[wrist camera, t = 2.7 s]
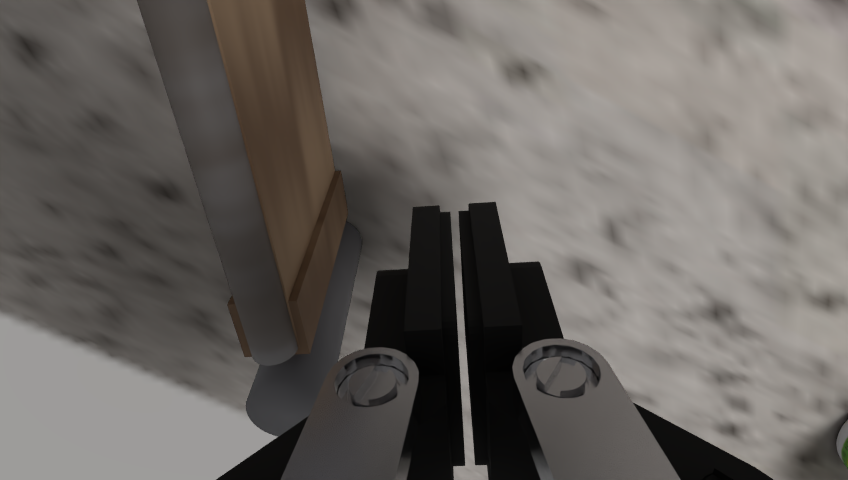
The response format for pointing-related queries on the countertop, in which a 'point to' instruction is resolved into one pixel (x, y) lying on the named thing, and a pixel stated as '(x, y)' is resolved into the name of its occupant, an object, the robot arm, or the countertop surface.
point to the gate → (256, 158)
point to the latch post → (305, 373)
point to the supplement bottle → (843, 443)
